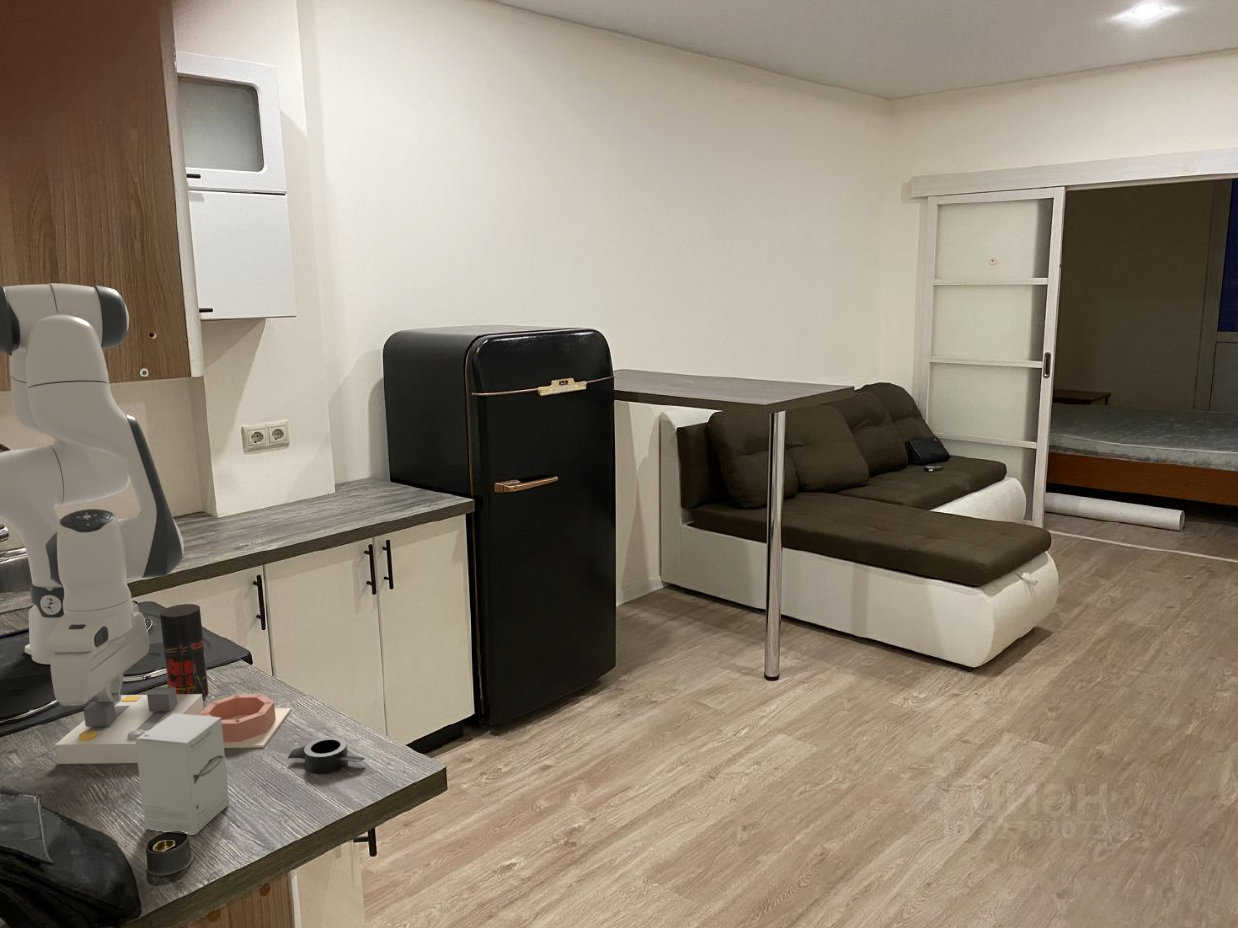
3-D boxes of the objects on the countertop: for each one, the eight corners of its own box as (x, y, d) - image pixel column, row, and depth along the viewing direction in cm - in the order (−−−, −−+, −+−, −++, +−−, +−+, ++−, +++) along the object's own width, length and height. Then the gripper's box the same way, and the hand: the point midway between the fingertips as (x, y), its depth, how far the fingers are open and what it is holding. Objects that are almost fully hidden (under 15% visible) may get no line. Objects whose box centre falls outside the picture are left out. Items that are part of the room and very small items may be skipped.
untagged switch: (156, 704, 143) (154, 687, 142) (177, 704, 143) (175, 687, 142) (149, 711, 141) (147, 694, 140) (170, 711, 141) (168, 694, 140)
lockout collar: (216, 711, 148) (214, 691, 147) (291, 710, 148) (289, 690, 147) (182, 748, 136) (179, 727, 135) (263, 747, 136) (261, 726, 136)
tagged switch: (94, 719, 138) (92, 701, 138) (116, 718, 138) (113, 701, 138) (85, 726, 136) (83, 709, 135) (107, 726, 136) (105, 708, 135)
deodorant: (163, 696, 154) (154, 610, 151) (199, 684, 158) (190, 601, 155) (178, 706, 150) (168, 619, 147) (214, 694, 154) (206, 609, 151)
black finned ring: (318, 788, 125) (317, 769, 125) (285, 762, 132) (283, 744, 132) (369, 767, 131) (368, 748, 130) (334, 743, 138) (333, 725, 137)
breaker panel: (116, 712, 148) (113, 692, 147) (203, 711, 148) (201, 691, 147) (57, 763, 132) (54, 741, 131) (155, 762, 132) (152, 740, 131)
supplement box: (195, 837, 114) (185, 743, 112) (143, 830, 116) (132, 738, 113) (231, 804, 121) (223, 715, 119) (182, 798, 123) (172, 711, 120)
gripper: (115, 596, 147) (125, 677, 150) (37, 646, 127) (50, 738, 129) (154, 596, 147) (164, 677, 150) (83, 645, 127) (95, 738, 130)
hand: (110, 706), depth 139 cm, fingers closed
